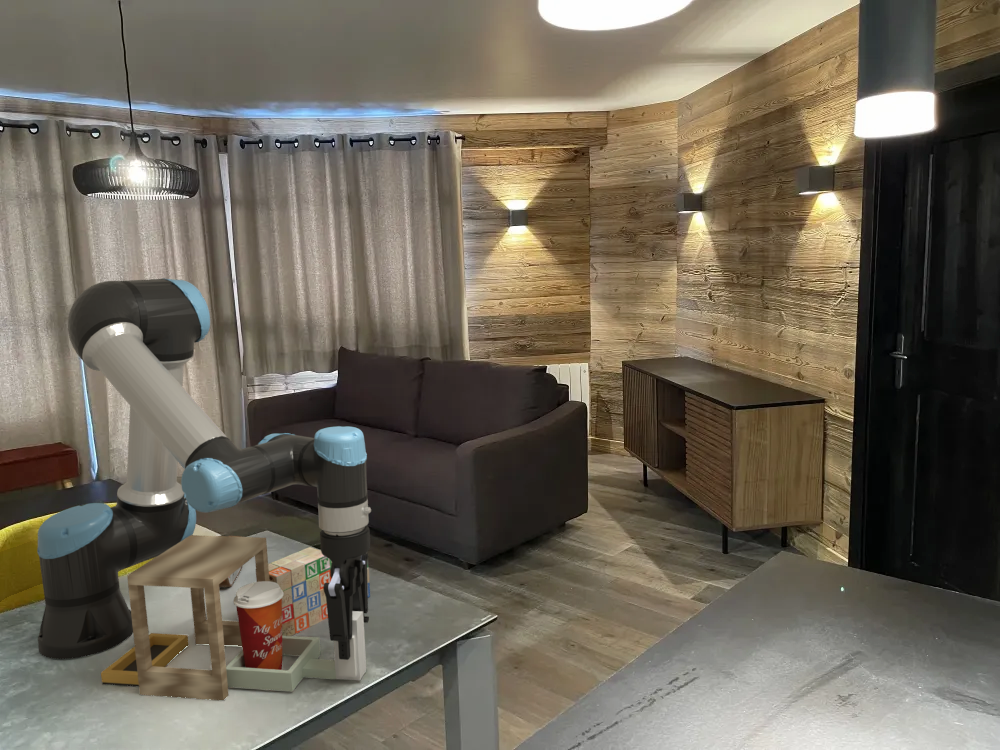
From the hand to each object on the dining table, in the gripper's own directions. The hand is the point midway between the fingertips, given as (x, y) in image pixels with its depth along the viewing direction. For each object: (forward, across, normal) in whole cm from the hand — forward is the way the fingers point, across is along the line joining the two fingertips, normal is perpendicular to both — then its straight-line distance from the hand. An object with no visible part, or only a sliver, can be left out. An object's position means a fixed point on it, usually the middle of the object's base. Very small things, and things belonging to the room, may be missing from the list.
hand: (352, 668), depth 118 cm
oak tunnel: (+2, 0, +24) cm, 24 cm away
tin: (+2, +34, +40) cm, 52 cm away
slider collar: (+1, 0, +8) cm, 9 cm away
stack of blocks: (+2, +21, +15) cm, 25 cm away
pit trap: (+2, 0, +36) cm, 36 cm away
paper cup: (+2, 0, +15) cm, 15 cm away
